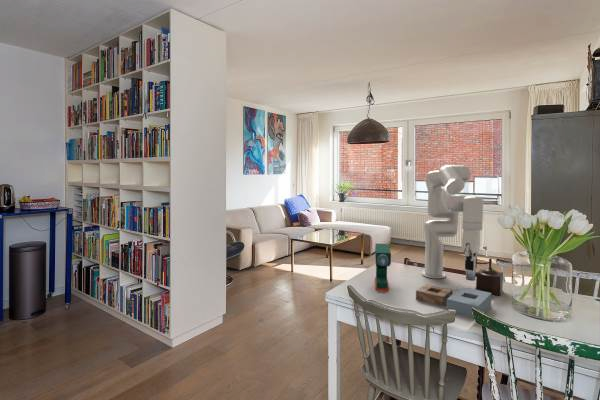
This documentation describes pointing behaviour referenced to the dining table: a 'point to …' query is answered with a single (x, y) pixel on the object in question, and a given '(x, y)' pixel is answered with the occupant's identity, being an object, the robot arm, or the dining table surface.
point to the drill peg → (471, 274)
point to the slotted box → (469, 301)
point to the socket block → (433, 294)
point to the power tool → (382, 266)
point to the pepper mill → (489, 280)
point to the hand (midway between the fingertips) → (470, 268)
